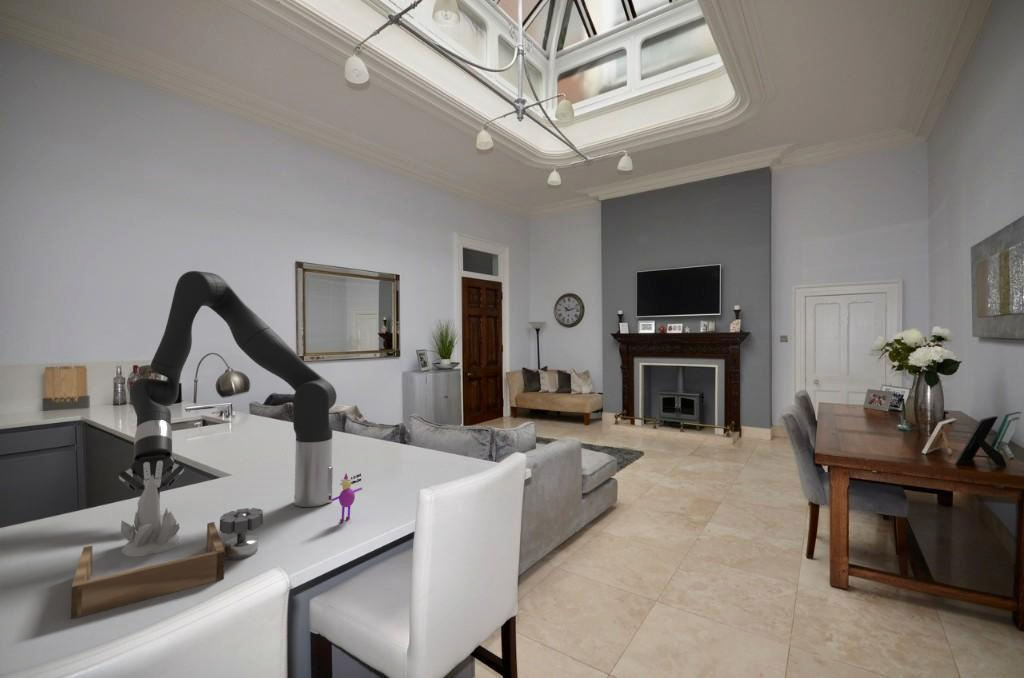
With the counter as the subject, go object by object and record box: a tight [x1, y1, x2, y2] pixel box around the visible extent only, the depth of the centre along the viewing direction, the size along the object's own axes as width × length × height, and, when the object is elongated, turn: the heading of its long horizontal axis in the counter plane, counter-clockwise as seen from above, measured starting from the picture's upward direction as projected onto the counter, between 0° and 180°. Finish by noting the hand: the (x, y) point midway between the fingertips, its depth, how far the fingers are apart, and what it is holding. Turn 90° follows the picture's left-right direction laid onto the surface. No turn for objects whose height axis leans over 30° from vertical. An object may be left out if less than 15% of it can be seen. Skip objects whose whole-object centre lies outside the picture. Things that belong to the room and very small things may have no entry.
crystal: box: [120, 475, 182, 557], centre depth 96 cm, size 10×13×15 cm
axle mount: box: [223, 513, 259, 561], centre depth 94 cm, size 6×6×8 cm
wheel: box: [219, 507, 264, 535], centre depth 94 cm, size 8×8×2 cm
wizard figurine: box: [327, 473, 364, 523], centre depth 111 cm, size 11×3×12 cm, turn 155°
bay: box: [70, 521, 225, 620], centre depth 84 cm, size 17×20×5 cm
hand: (151, 505), depth 105 cm, fingers closed
